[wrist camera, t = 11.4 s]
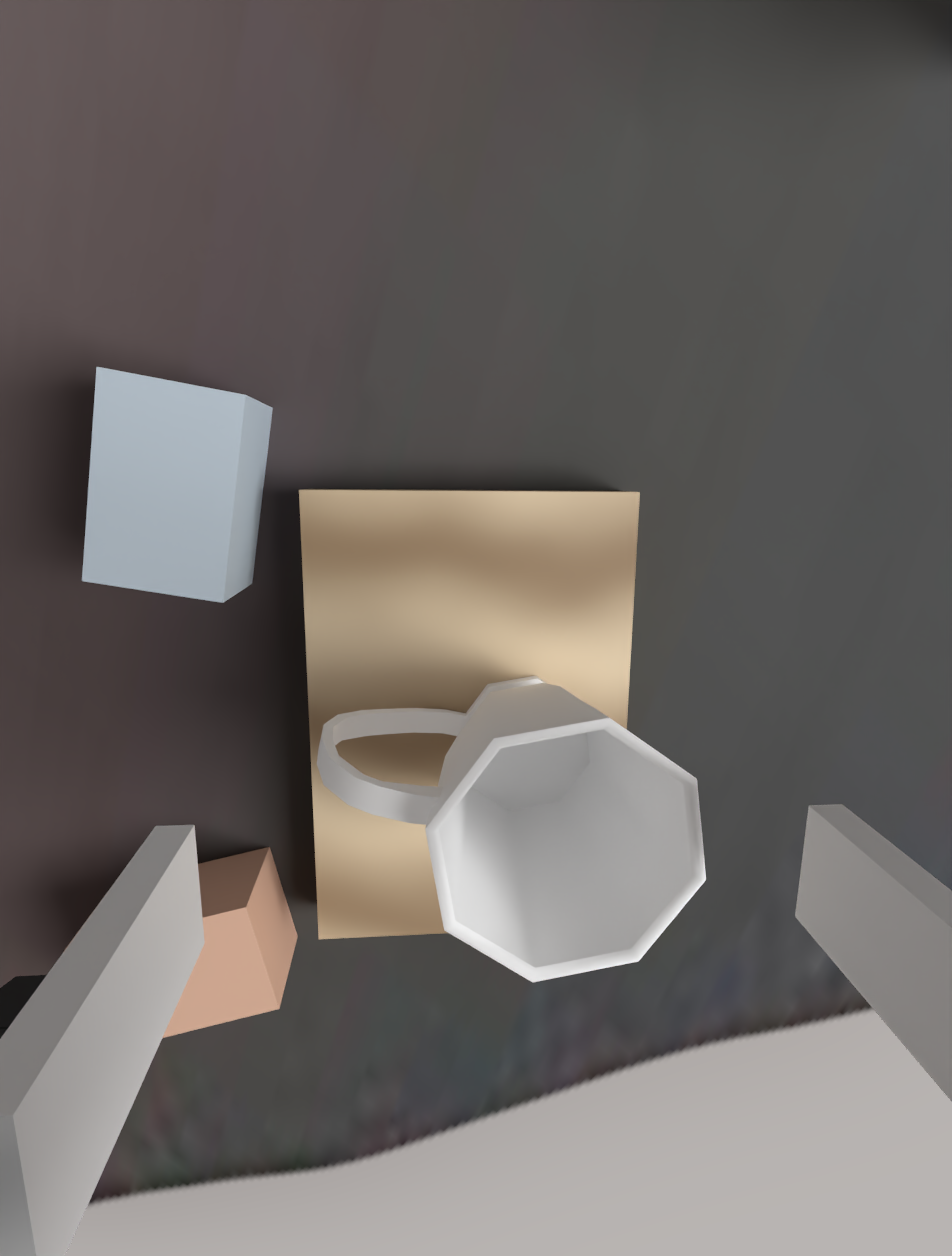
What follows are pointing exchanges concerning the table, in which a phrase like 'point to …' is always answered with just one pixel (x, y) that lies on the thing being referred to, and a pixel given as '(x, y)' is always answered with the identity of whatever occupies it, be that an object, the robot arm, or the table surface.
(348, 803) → the cup
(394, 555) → the oak board
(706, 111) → the table surface
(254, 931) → the terracotta brick
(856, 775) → the table surface
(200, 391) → the slate brick
